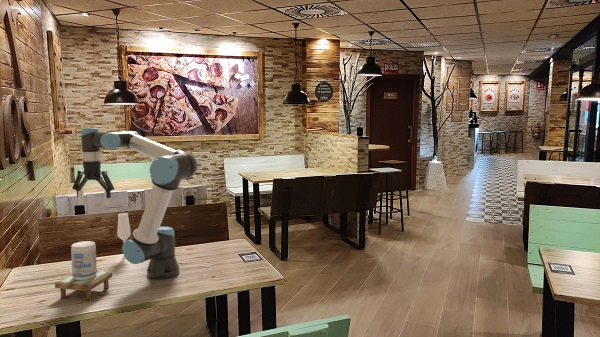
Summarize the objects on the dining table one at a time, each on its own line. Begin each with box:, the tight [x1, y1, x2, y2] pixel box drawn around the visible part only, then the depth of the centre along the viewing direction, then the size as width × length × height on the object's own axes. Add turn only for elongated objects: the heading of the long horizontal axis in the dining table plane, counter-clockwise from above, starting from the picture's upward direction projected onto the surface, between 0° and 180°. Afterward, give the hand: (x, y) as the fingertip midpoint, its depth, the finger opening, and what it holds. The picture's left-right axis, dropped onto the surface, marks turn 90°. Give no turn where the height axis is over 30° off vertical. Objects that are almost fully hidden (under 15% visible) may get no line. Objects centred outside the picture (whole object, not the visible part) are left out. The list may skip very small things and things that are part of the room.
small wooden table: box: [54, 270, 113, 302], centre depth 190 cm, size 16×16×7 cm
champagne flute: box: [117, 212, 132, 260], centre depth 235 cm, size 7×7×24 cm
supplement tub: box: [70, 240, 98, 280], centre depth 188 cm, size 10×10×15 cm
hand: (94, 204), depth 209 cm, fingers open, 13 cm apart
